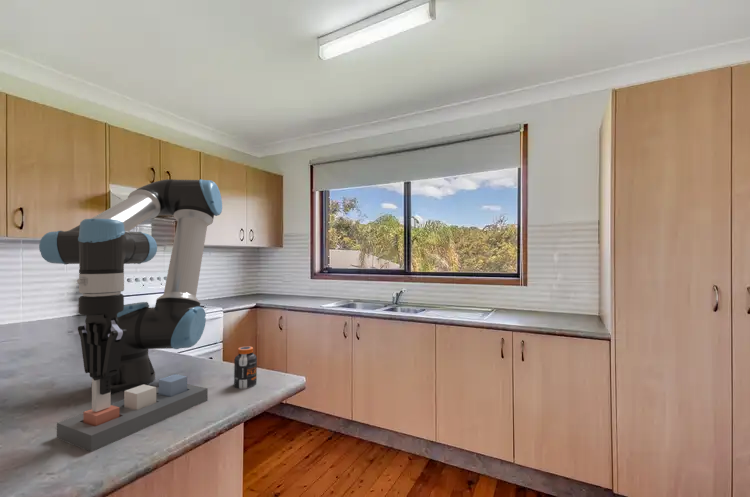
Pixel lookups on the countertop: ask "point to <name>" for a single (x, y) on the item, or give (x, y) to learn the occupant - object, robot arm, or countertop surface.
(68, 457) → the countertop surface
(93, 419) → the key red
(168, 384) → the key blue
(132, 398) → the key white
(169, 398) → the frame
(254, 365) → the pill bottle
